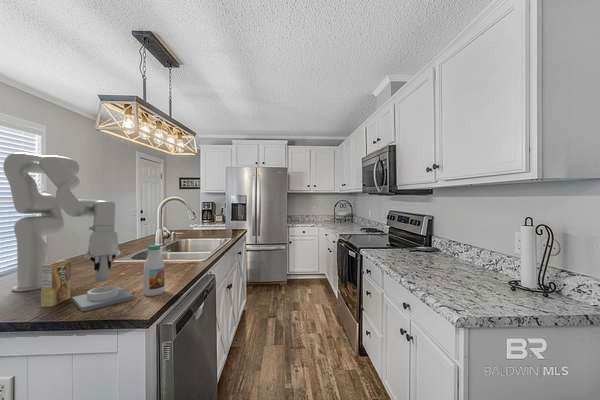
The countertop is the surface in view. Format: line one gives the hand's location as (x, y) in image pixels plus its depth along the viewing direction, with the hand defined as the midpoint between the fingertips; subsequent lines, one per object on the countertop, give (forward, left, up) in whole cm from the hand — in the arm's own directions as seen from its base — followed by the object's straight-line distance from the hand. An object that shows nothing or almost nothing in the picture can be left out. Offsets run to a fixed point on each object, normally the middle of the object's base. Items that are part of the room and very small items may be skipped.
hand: (102, 270), depth 117 cm
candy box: (+5, -16, -8) cm, 19 cm away
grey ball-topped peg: (0, 0, -4) cm, 5 cm away
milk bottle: (+23, +12, -8) cm, 27 cm away
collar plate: (+16, -4, -8) cm, 18 cm away
